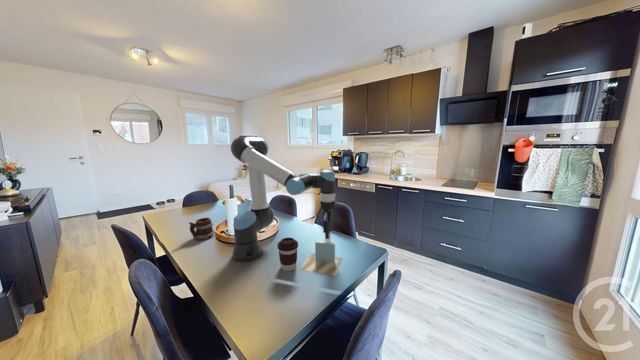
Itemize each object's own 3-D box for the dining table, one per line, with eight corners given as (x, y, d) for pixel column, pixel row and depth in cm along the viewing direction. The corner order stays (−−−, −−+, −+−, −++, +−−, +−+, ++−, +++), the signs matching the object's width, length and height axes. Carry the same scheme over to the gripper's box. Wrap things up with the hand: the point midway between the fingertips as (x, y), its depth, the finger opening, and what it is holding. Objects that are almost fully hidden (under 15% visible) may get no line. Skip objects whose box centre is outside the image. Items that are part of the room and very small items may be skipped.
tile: (315, 260, 113) (315, 242, 111) (316, 258, 114) (316, 240, 113) (334, 263, 110) (334, 244, 108) (335, 261, 112) (335, 243, 110)
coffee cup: (295, 275, 102) (294, 246, 99) (275, 273, 104) (273, 244, 101) (301, 264, 111) (300, 236, 109) (283, 262, 113) (281, 235, 111)
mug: (219, 234, 148) (214, 214, 143) (200, 246, 136) (193, 225, 132) (209, 230, 154) (203, 211, 149) (189, 242, 142) (182, 222, 137)
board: (299, 271, 105) (299, 269, 105) (310, 255, 120) (310, 253, 120) (335, 278, 100) (335, 275, 99) (342, 260, 115) (342, 258, 114)
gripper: (331, 204, 104) (331, 250, 109) (337, 197, 117) (337, 238, 121) (316, 203, 106) (317, 248, 111) (323, 196, 119) (324, 237, 123)
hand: (327, 243), depth 116 cm, fingers closed
